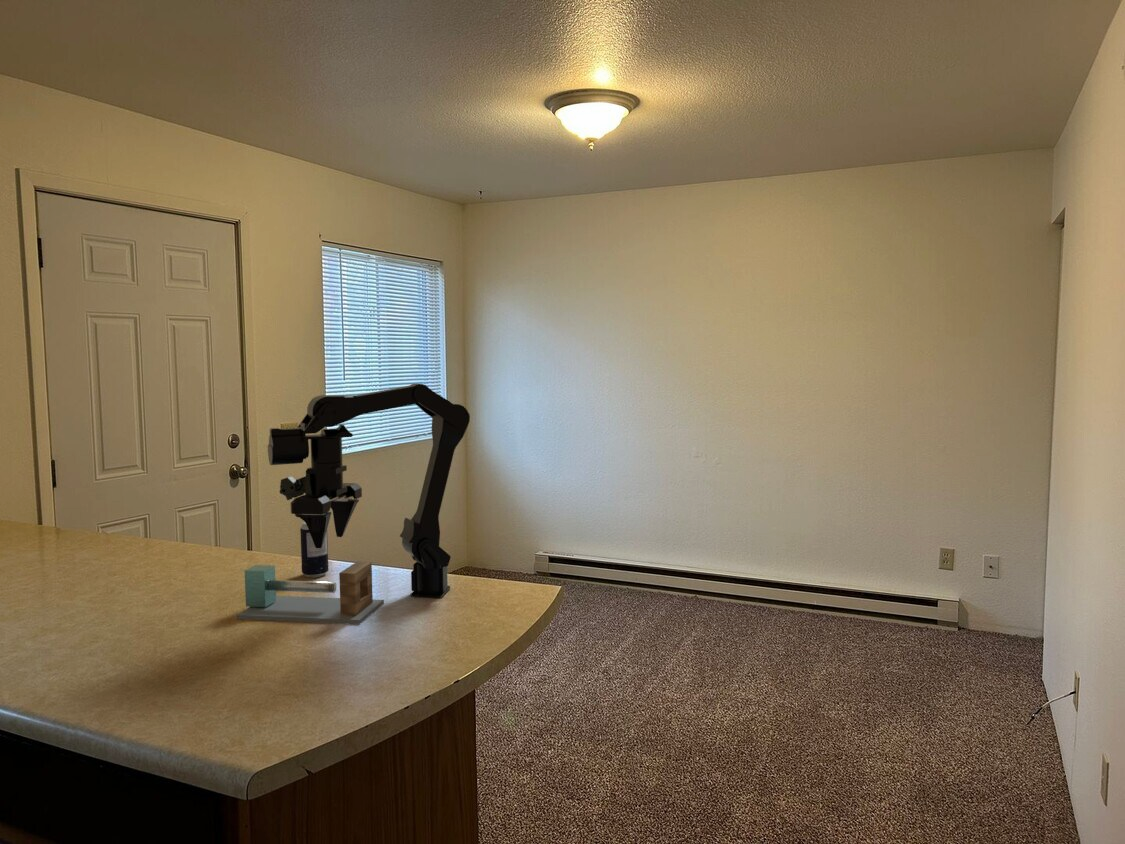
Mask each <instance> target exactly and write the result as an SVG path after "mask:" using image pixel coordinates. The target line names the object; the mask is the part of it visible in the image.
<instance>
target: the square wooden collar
mask: <svg viewBox="0 0 1125 844" xmlns="http://www.w3.org/2000/svg"><path fill="white" fill-rule="evenodd" d="M372 565H373V564H372V561H356V562H355V563H353V564H351V565H349V566H348V567H346V568H345V569H344V570H342V571H340V572H339V573H338V574H339V577H338V579H339V598H340V612H341V616H357V615H358V614H359V613H361V612H362V611H363V610H364V609H366V608H367V607H368V606H369V605H370V604H372V603H373V599H374V598H373V566H372Z"/></svg>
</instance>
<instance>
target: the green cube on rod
mask: <svg viewBox="0 0 1125 844" xmlns="http://www.w3.org/2000/svg"><path fill="white" fill-rule="evenodd" d="M244 590H245V594H244V595H245V607H248V608H249V607H267V606H268V605H270V604H272V603H273V602H275V601H276V596H277V592H298V593H299V592H302V593H327V594H329V593H330V594H334V593H335V592H336V590H337V582H335V581H313V580H287V579H286V580H284V579H276V566H275V565H272V564H270V565H267V564H264V565H263V564H255V565H253V566H251V567H249V568H247V569H245V570H244ZM276 591H277V592H276Z"/></svg>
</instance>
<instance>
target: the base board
mask: <svg viewBox="0 0 1125 844" xmlns="http://www.w3.org/2000/svg"><path fill="white" fill-rule="evenodd" d="M384 604H385V599H376V598H375V599H374V598H373V603H372V604H370V605H369V606H368V607H367V608H366V609H364V610H363V611H362V612H361V613H359V614H358V615H357V616H341V612H340V597H322V596H317V597H315V596H297V595H296V596H293V595H291V596H290V595H276V601H275V602H273V603H272V604H270V605H268V606H267V607H248V608H246V609H244V610H243V611H240V612H239V613H237V614H236V620H246V621H247V620H251V621H252V620H253V621H275V622H292V623H293V622H294V623H295V622H297V623H321V624H342V625H343V624H344V625H361V624H362V623H363V622H364V621H366V619H368V618H369V617H370V616H371V615H373V614H374V613H375V612H376V611H377V610H379V609H380V608H381V607H382V606H383V605H384Z"/></svg>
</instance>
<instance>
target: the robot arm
mask: <svg viewBox="0 0 1125 844" xmlns="http://www.w3.org/2000/svg"><path fill="white" fill-rule="evenodd" d="M413 405H415V406H417V407H418V408H419V409H420V410H421V411H423V412H424V413H425V414H426V415H427V416H429V417H431V418H432V419H431V420H432V421H431V436H432V448H431V451H430V455H429V459H428V464H427V467H426V468H427V469H426V472H425V476H424V480H423V485H422V488H421V492H420V497H419V501H418V505H417V510H416V512H415V513H414V515H413V516H412V518H408V517H404V521H403V528H402V531H401V533H400V535H399V537H400V538H401V545H402V547H403V549H404V550H405V551H406V552H407V553H408V554H409V555H411V558H412V560H413V561H415V563H413V568H412V569H413V570H411V571H410V578H411V579H410V580H411V582H410V584H411V585H410V586H411V591H412V592H411V594H410V596H411V597H419V598H420V597H424V598H425V597H426V598H442V597H444V595H445V594H447V592H449V590H450V589H451V586H450V585H448V566H449V564H450V561H451V555H450V554H449V553H448V552H446V551H445V550H444V549H443V548H442V547H441V546H440V541H441V540H440V538H441V527H440V521H439V518H440V517H439V516H440V512H441V508H442V504H443V499H444V497H445V496H444V495H445V491H446V488H447V483H448V479H449V475H450V470H451V467H452V462H453V458H454V454H455V451H456V448H457V446H458V445H459V444H460V442H461V441H462V440H463V438H464V437H465V433H466V431H467V429H468V426H469V424H470V421H471V416H470V413H469V411H468V409H467V408H466V407H465V406H464V405H462V404H458V403H452V402H451V401H450V400H448V399H446V398H444V397H443V396H442V395H440V394H439V393H436V392H435V391H434V390H432V389H431V388H429V386H427V385H426V384H423V383H412V384H410V385H405V386H400V387H395V388H389V389H384V390H378V391H373V392H366V393H361V394H356V395H355V394H353V395H352V394H349V395H345V394H343V395H338V394H336V395H335V394H334V395H333V394H332V395H331V394H329V395H325V394H322V395H317V396H314V397H313V398H311V400H310V401H309V403H308V404H307V409H306V414H305V416H304V417H303V418H302V420H301V421H300V423H299V424H298V426H297V427H295V428H294V427H292V428H280V427H273V428H270V429H269V436H268V437H269V438H268V445H267V456H268V462H269V465H270V466H279V465H280V466H281V465H295V464H303V463H304V460H306V459H307V458H309V454H310V461H311V463H310V464H311V465H310V467H308V468H306V470H305V476H301V477H300V478H297V479H296V478H294V477H293V476H292V475H290V476H287V477H285V478H282V479H280V484H279V488H280V489H279V494H281V495H283V496H285V498H286V501H290V500H292V499H293V500H292V501H291V502H290V514H292V515H294V516H295V517H296V518H300V519H301V520H302V521H303V522H304V521H305V523H306V525H307V527H308V529H309V532H310V534H311V537H312V540H313V542H314V545H315V547H316V548H322V545H323V542H324V539H325V535H326V531H327V532H328V527H329V524H330V519H331V516H332V515H333V522H334V523H333V524H334V531H335V534H336V537H337V538H343V536H344V534H345V532H346V529H347V527H348V524H349V522H350V520H351V517H352V516H353V513H354V511H355V509H356V508H357V505H358V503H359V502H360V498H361V497H363V495H362V494H363V493H362V492H363V491H362V490H363V488H362V487H361V486H360V484H359V483H358V482H356V483H355V482H354V483H353V482H344V472H347V471H348V470H347V469H348V468H347V465H344V464H343V438H352V437H353V436H354V435H353V432H351V431H349V430H348V429H347V428H346V426H345V425H344V424H343V423H346V422H348V421H351V420H352V419H354V418H357V417H359V416H362V415H366V414H371V413H376V412H381V411H387V410H393V409H396V408H401V407H402V408H403V407H407V406H413ZM337 425H338V427H336V426H337ZM330 427H331V428H330ZM332 427H336V428H332ZM319 432H320V433H319ZM317 433H318V434H317ZM309 441H310V445H309ZM330 510H332V512H331V511H330Z"/></svg>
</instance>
